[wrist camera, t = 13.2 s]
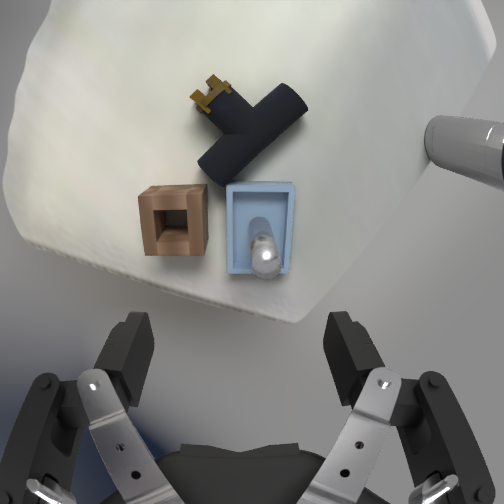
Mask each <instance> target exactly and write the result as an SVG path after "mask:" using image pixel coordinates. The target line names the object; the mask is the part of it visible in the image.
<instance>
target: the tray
mask: <svg viewBox="0 0 504 504" xmlns="http://www.w3.org/2000/svg"><path fill="white" fill-rule="evenodd" d="M294 197H295V186H294V185H293V184H292V183H291V182H265V181H230V182H229V183H228V184H227V185H226V199H227V268H228V274H254V273H253V271H252V264H251V253H250V242H249V231H248V225H249V222H250V221H251V220H252V219H253V218H255V217H264V218H266V219H267V220H268V221H269V223H270V226H271V229H272V232H273V236H274V239H275V242H276V246H277V249H278V252H279V256H280V259H281V262H282V269H281V271H280V273H289V263H290V251H291V239H292V226H293V212H294Z"/></svg>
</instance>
